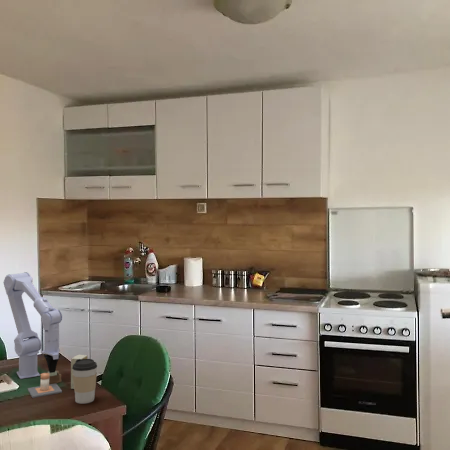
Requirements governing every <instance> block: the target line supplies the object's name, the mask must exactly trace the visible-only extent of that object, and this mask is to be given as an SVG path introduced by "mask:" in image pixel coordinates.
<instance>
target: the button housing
mask: <svg viewBox="0 0 450 450" xmlns="http://www.w3.org/2000/svg"><path fill="white" fill-rule="evenodd" d="M56 371H57V375H55V376H50V377H49V384H55V383H56V384H60V383H62V374H61V373H60V372H59V370H56Z"/></svg>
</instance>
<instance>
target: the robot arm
mask: <svg viewBox="0 0 450 450" xmlns="http://www.w3.org/2000/svg"><path fill="white" fill-rule="evenodd" d="M33 283H34V282H33V277H32V276H31V274H30V273H29V272H28V271H27V272H25V271H24V272H20V273H11V274H7V275H6V276H5V277H4V280H3V285H4V286H3V287H4V290H5V293H6V296H7V299H8V302H9V306H10V309H11V313H12V317H13V320H14V323H15V327H16V331H17V336H16V337H15V338H14V340H13V341H14V342H13V343H14V352H15V354H16V355H17V357H18V370H17V371H16V374H17V376H18V377H19V379H20V380H22V379H29V378H35V377H41V373H40V372H39V371H38V354H40V353H39V352H40V351H41V354H44V356H43V357H44V359H45V361H46V364H47V369H48V371H49V372H50V373H53V372H55V371H57V370H56V369H57V365H58V362H59V360H60V358H61V355H60V351H61V350H60V324H61V322H62V320H63V314H62V312H61V311H60V309H57V308H56V307H53V306H52V304H51V303H50V302H49V300H48V298H47V297H45V296H41V295H40V293H39V292H38V290H37V288H36V287H35V285H34V284H33ZM24 293H25V294H26V295H27V296H28V297H29V298H30V299H31V301H33V307H34V309H35V310H36V311H37V312H38V314H39V315H40V321H41V324H42V327H43V331H44V350H41V349H42V340H41V339H40V337H39V336H38V333H37V332H35V331H34V330H32V328H31V325H30V321H29V318H28V314H27V311H26V307H25V302H24V299H23V294H24Z"/></svg>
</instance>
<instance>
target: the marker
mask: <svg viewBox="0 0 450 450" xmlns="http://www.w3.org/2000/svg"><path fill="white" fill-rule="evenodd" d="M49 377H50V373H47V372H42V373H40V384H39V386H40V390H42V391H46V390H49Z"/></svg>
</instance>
